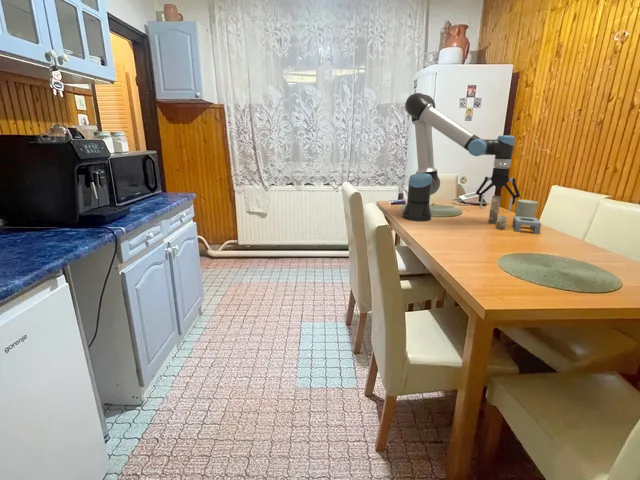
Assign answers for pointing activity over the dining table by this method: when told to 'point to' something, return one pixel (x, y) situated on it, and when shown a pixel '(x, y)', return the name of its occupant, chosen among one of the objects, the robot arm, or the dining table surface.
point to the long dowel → (494, 209)
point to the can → (526, 208)
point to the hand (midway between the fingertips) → (494, 209)
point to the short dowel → (501, 222)
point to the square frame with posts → (526, 223)
